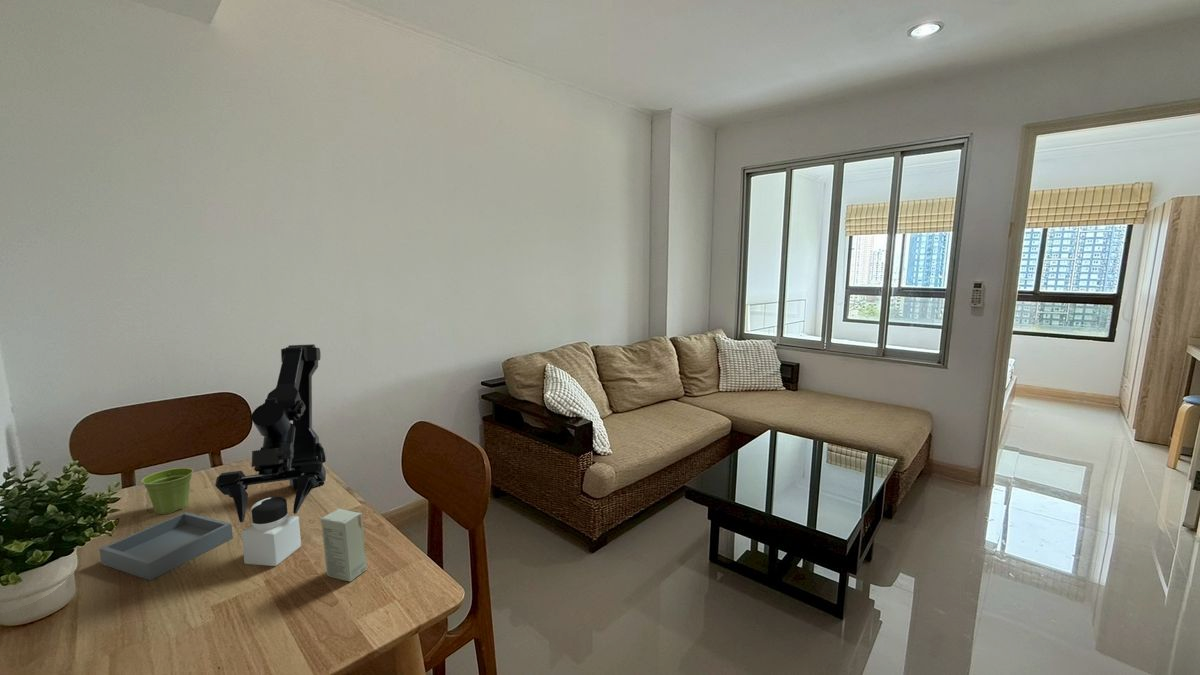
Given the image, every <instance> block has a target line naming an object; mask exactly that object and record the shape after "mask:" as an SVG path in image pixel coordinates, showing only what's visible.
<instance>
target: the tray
mask: <svg viewBox="0 0 1200 675" xmlns="http://www.w3.org/2000/svg"><path fill="white" fill-rule="evenodd" d="M232 527H233V526H232V523H231V522H227V521H223V520H218V519H215V518H212V517H207V516H203V515H200V514H196V513H192V512H187V511H184V512H181V513H179V514H176V515H174V516H171V517H170V518H168V519H166V520H163V521H161V522H158V523H156V524H154V525H151V526H149V527H147V528H144V529H141V530H139V531H137V532H134V533H132V534H130V535H127V536H125V537H123V538H121V539H118V540H115V541H114V542H111V543H109V544H106V545H104V546H101V547H99V554H100V555H99V556H100V562H101V565H102V564H105V565H107V566H106V567H108V566H110V567H109V568H111V567H113V568H112V569H114V568H115V569H114V570H117V569H118V571H120V570H121V572H123V571H124V572H125V573H127V574H130V575H133V576H135V577H139V578H141V579H145V580H148V581H152V580H154V579H156V578H158V577H160V576H162V575H163V574H165V573H168V572H169V571H171V570H174V569H175V568H177V567H179V566H182V565H183V564H186V563H187V562H189V561H191V560H194V558H197V557H199V556H201V555H202V554H205V553H207V552H209V551H211V550H212V549H215V548H216V547H218V546H221V545H222V544H224V543H226V542H228V541H230V540H232V539H233V538H234V536H233V528H232ZM105 565H104V566H105Z"/></svg>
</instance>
